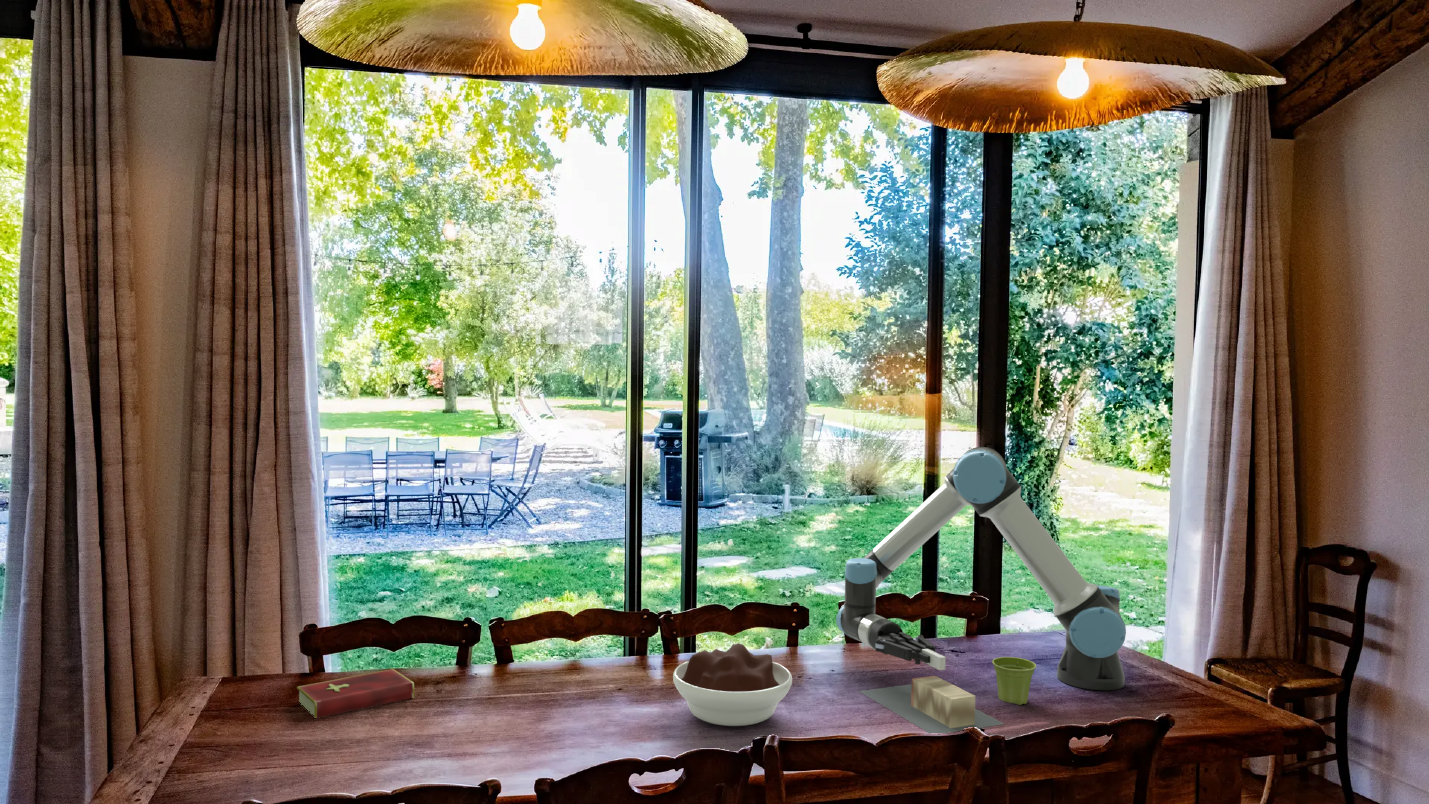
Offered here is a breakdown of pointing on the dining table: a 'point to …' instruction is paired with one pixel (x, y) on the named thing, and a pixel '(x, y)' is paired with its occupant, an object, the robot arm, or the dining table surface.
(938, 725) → the rubber mat
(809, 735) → the dining table surface
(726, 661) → the chocolate pudding bowl
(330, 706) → the hardcover book
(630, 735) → the dining table surface
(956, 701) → the birch block
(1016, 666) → the plant pot
